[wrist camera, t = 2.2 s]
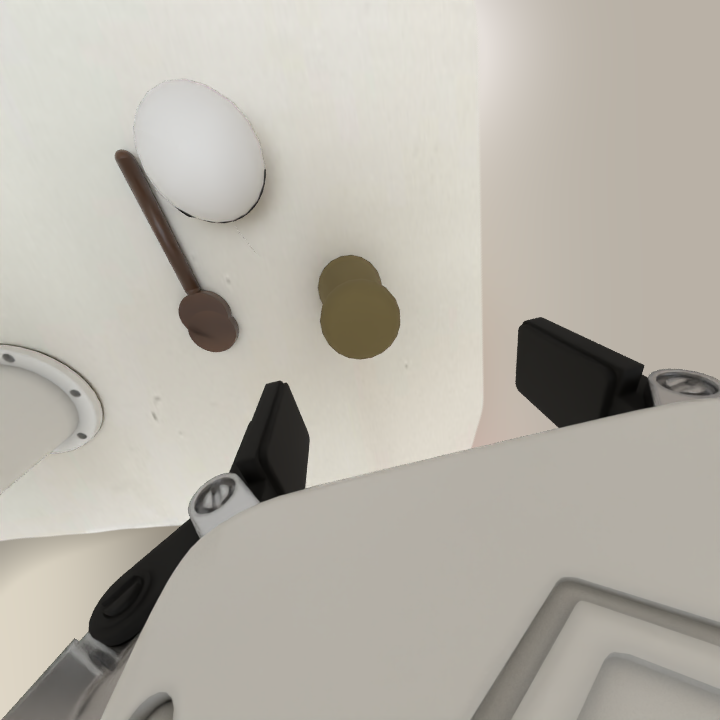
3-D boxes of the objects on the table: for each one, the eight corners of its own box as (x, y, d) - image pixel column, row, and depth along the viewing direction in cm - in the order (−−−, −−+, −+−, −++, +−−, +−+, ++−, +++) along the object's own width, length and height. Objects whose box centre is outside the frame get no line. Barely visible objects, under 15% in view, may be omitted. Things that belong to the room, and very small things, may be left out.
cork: (329, 244, 24) (330, 261, 14) (391, 268, 26) (430, 298, 16) (310, 308, 27) (300, 358, 17) (367, 326, 28) (389, 383, 18)
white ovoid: (150, 118, 19) (61, 67, 13) (253, 95, 19) (216, 33, 13) (213, 264, 24) (170, 280, 17) (296, 245, 24) (284, 255, 17)
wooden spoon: (246, 342, 28) (242, 347, 26) (205, 352, 28) (200, 357, 26) (153, 144, 20) (144, 140, 19) (98, 159, 20) (85, 155, 19)
